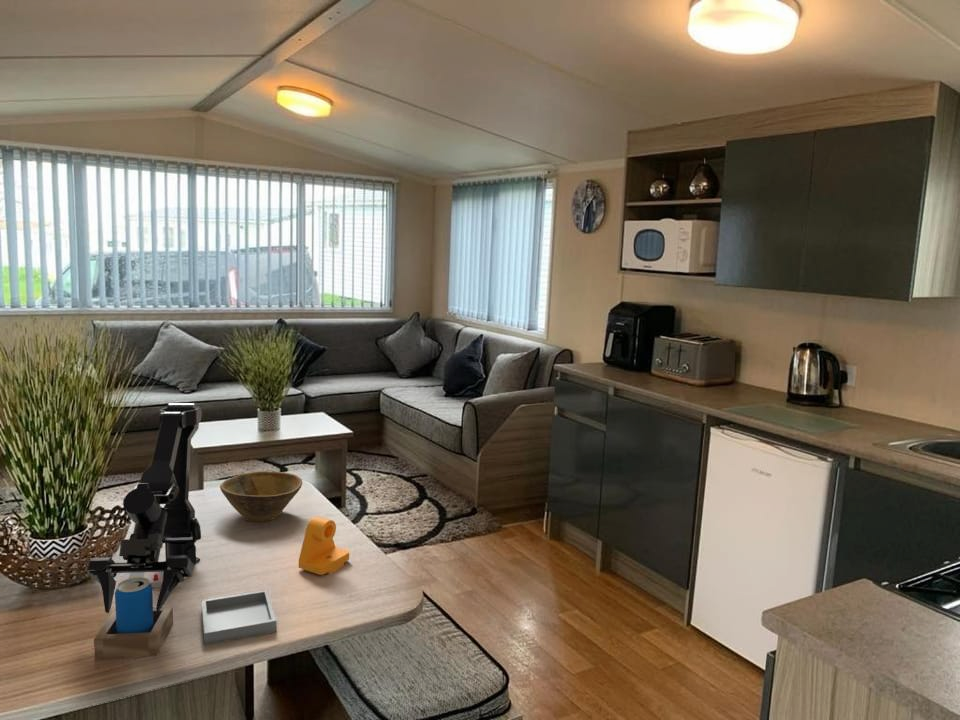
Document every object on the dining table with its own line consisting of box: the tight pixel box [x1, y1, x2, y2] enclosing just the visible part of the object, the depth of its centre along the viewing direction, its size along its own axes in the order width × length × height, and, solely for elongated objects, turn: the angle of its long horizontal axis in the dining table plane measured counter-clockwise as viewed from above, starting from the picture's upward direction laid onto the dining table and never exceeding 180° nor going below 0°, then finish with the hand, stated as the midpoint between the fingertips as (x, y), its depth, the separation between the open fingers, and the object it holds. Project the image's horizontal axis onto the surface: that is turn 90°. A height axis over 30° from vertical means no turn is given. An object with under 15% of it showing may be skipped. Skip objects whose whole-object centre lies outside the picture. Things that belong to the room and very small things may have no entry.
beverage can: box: [114, 577, 154, 634], centre depth 135 cm, size 6×6×12 cm
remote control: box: [115, 572, 163, 591], centre depth 159 cm, size 7×16×3 cm, turn 109°
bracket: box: [298, 515, 350, 575], centre depth 169 cm, size 11×7×12 cm, turn 151°
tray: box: [200, 589, 277, 646], centre depth 144 cm, size 14×14×2 cm
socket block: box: [93, 605, 174, 660], centre depth 135 cm, size 11×11×4 cm
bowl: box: [219, 470, 303, 523], centre depth 199 cm, size 22×23×10 cm
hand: (132, 611), depth 133 cm, fingers open, 9 cm apart
